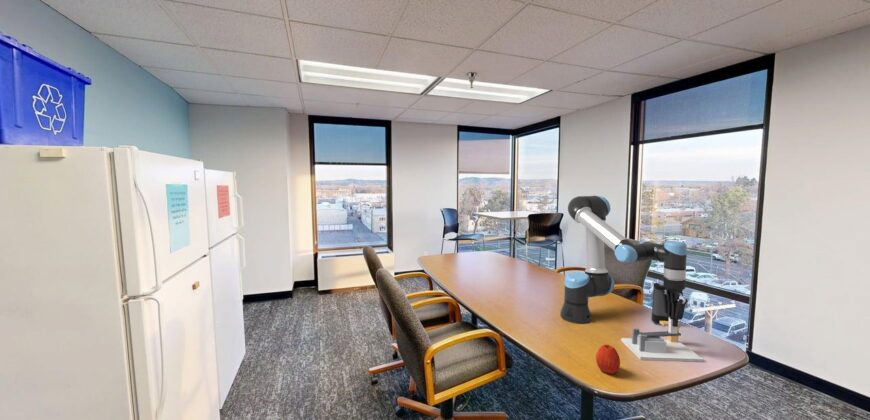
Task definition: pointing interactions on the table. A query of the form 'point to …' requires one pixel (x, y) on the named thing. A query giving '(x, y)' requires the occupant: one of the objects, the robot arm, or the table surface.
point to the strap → (658, 334)
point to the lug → (665, 323)
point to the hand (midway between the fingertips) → (672, 332)
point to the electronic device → (658, 305)
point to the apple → (608, 359)
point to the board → (668, 356)
